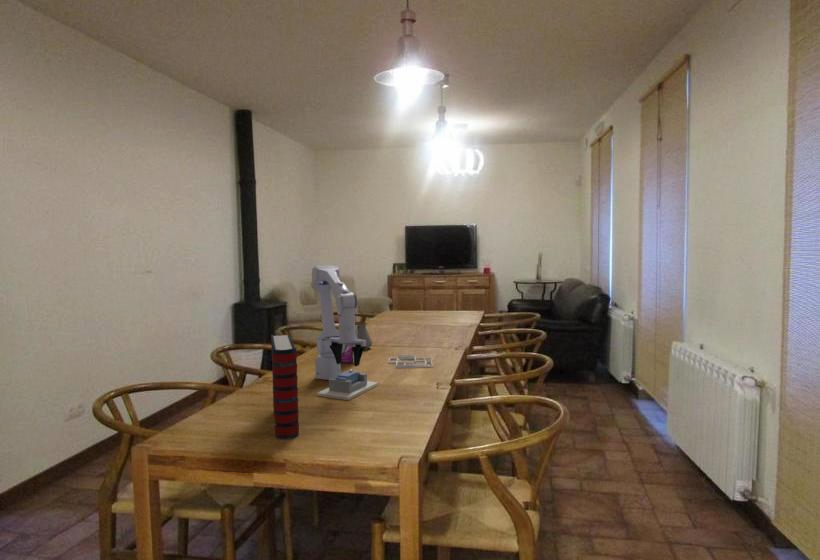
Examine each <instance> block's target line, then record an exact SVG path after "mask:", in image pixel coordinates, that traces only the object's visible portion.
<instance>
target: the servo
mask: <svg viewBox="0 0 820 560" xmlns="http://www.w3.org/2000/svg"><path fill="white" fill-rule="evenodd" d="M360 373H361V372H359V371H357V370H353V369H349V370H347V371H344V372H341V374H339V375H338V377H336V378H335V379H336V380H343V381H346V380H350V381H352V384H353V383H356V382H358V375H359V374H360Z"/></svg>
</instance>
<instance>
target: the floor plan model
mask: <svg viewBox="0 0 820 560" xmlns="http://www.w3.org/2000/svg"><path fill="white" fill-rule="evenodd" d="M401 360H404V361H401ZM405 360H406V361H405ZM407 360H408V361H407ZM410 360H411V361H410ZM416 363H424V364H416ZM387 364H388V365H395V368H396V369H414V368H415V369H427V368H428V369H430V368H431V369H432V368H433V367H434V366H433V361H432V358H431V357H416V355H415V354H398V357H388V363H387ZM427 364H428V366H427ZM429 364H430V365H429Z"/></svg>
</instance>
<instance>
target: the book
mask: <svg viewBox="0 0 820 560" xmlns="http://www.w3.org/2000/svg"><path fill="white" fill-rule="evenodd" d="M270 341H271V342H270V343H271V344H270V345H271V347H270V348H271V349H270V350H271V370H272V373H271V374H272V376H271V377H272V398H273V399H272V400H273V403H272V405H273V417H274V424H275V425H274V426H273V428H274V434H275V438H276V439H278V440H290V439H294V438H296V437H299V436H300V435H299V434H300V422H299V418H300V417H299V416H300V415H299V413H300V412H299V398H298V394H299V393H298V392H299V387H298V380H299V379H298V363H297V361H298V360H297V358H298V357H297V356H298V351H297V347H296V346H295V344H294V342H293V339H292V335H291V334H290V333H287V334H285V335H284V334H283V335H273V334H270Z"/></svg>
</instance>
